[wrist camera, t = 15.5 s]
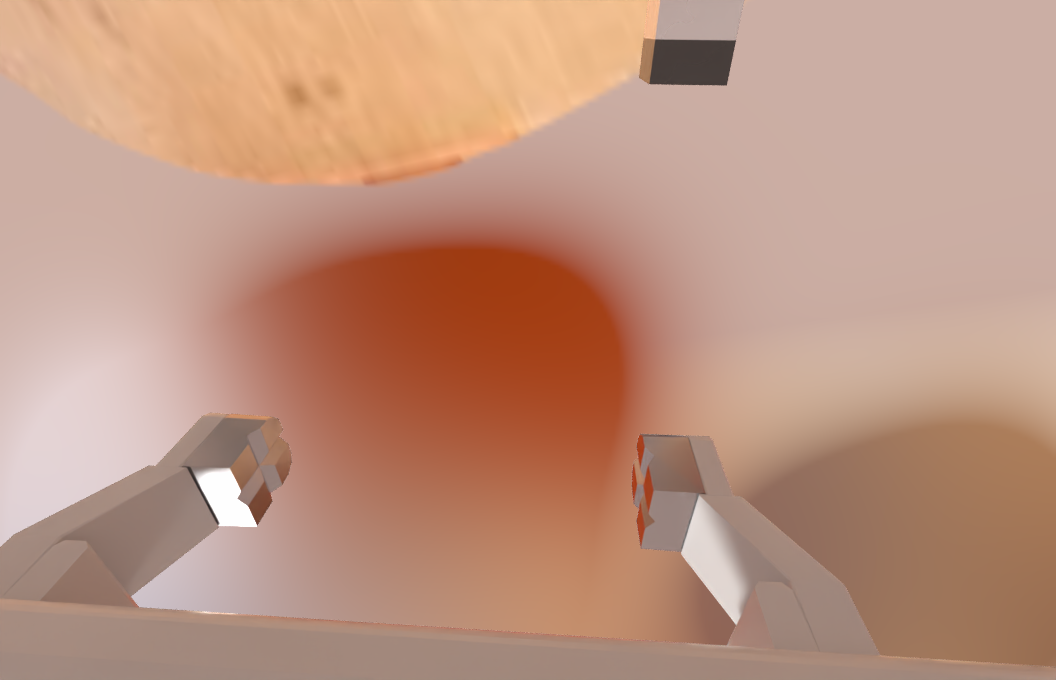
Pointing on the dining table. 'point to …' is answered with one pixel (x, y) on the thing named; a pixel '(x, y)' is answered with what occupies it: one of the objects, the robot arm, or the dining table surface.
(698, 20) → the grey bar
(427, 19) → the dining table surface
